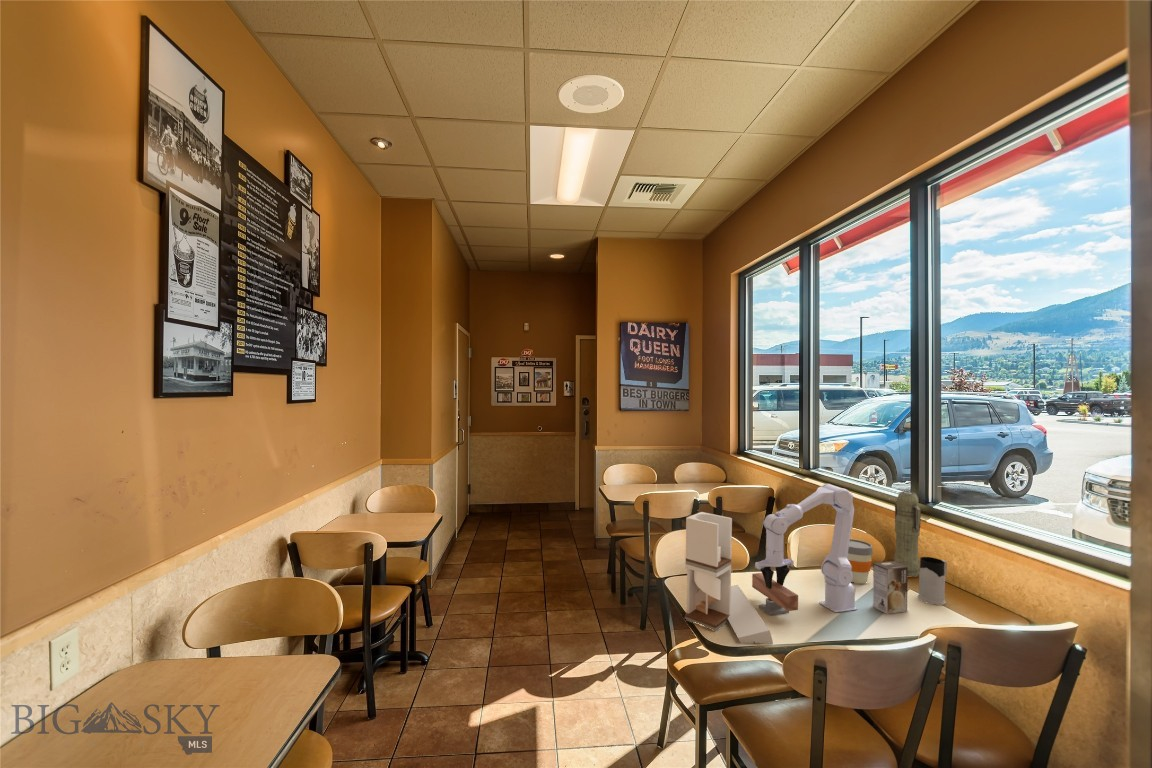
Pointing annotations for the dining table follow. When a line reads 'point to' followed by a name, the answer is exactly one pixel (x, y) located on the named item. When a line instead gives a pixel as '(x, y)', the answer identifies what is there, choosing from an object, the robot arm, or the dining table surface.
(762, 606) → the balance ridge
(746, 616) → the decorative molding
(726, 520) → the white tower model
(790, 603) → the mahogany rod
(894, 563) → the coffee box
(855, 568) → the reusable coffee cup
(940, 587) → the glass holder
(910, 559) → the thermos
